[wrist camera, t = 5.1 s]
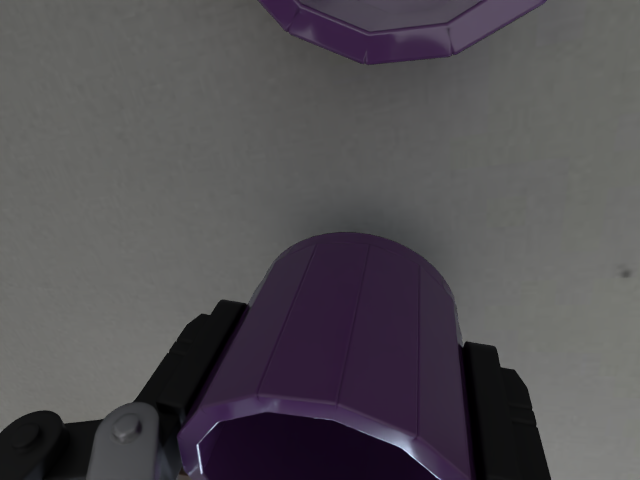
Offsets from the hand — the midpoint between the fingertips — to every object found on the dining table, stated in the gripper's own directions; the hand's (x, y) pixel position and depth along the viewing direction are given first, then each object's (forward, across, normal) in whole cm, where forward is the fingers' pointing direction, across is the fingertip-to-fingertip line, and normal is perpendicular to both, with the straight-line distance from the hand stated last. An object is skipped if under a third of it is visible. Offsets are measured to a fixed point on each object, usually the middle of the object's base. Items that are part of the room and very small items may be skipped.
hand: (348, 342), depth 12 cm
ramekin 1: (+1, 0, 0) cm, 1 cm away
